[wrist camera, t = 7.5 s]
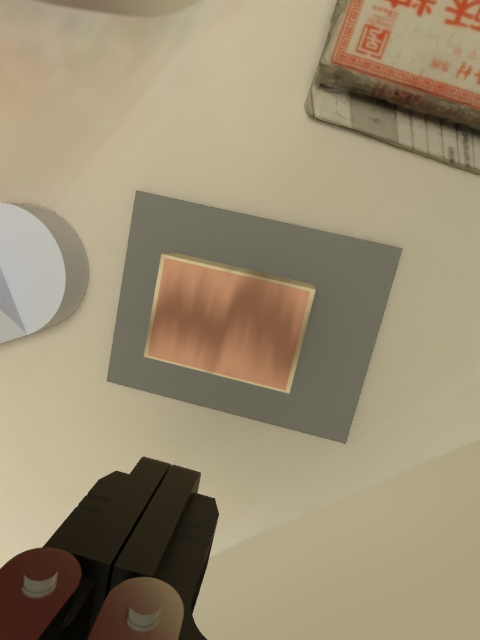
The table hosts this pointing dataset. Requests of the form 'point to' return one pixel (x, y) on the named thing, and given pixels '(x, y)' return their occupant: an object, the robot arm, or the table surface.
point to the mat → (275, 259)
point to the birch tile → (228, 320)
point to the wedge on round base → (38, 270)
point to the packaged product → (405, 76)
